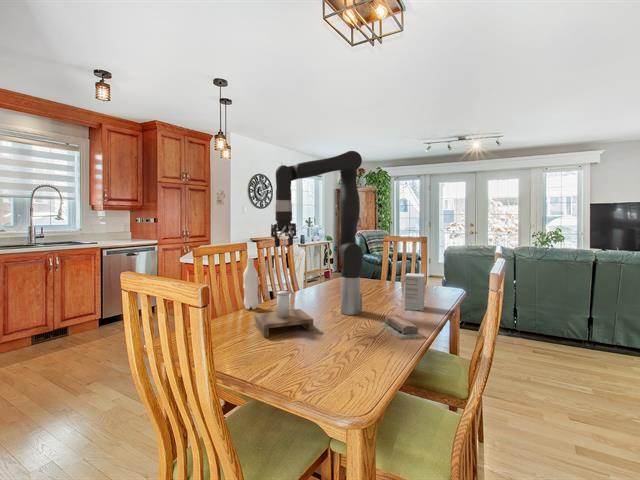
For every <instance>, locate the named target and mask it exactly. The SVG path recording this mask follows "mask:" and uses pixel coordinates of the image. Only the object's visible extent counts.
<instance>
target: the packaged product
mask: <svg viewBox="0 0 640 480" xmlns="http://www.w3.org/2000/svg"><path fill="white" fill-rule="evenodd" d="M384 317H385V318H384V322H383V321H381V322H380V323H381V324H380V325H381V326H382V327H383V328H385V329H386V330H387V331H388V332H389V333H391V334H392V335H394V337H396V338H397V339H399V340H406V339H407V338H408V339H416V337H418V338H423V337H424V334H423V333H421V332H419V331H418V330H419V327H418V326H417V325H415V324H413V323H412V322H410V321H409V320H407V319H405V318H404V317H402V316H401V315H398V314H391V315H390V314H387V315H386V316H384ZM422 336H423V337H422Z"/></svg>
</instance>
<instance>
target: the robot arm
mask: <svg viewBox="0 0 640 480" xmlns="http://www.w3.org/2000/svg"><path fill="white" fill-rule="evenodd" d="M362 162H363V159H362V155H361V154H360V153H359V152H358V151H357V150H349V151H346V152H344V153H341V154H339V155H336V156H332V157H328V158H322V159H315V160H310V161H304V162H299V163H297V164H294V165H289V166H287V165H285V164H283V165H282V164H281V165H280V166H278V167H277V168H276V170H275V185H276V187H275V188H276V189H275V211H274V212H275V221H276V223H272V224H271V227H270V237H271V238H273V239H274V246H275V247H276V248H280V246H281V240H280V238H281V236H282V235H283V234H286V235H287V242H288V243H287V245H288V246H290V247H291V246H293V245H294V237H296V236H297V223H295V222H292V221H293V203H292V181H297V180H300V179H307V178H312V177H317V176H321V175H323V174H328V173H331V172H337V171H339V173H340V181H341V183H340V194H339V195H340V197H339V198H340V199H339V216H340V218H339V219H340V221H339V222H340V237H339V248H338V254H339V256H340V258H341V260H342V269H341V271H340V313H341V314H342V315H346V316H347V315H348V316H353V315H355V316H356V315H359V314H362V313H363V292H361V272H362V271H363V250H362V247H361V246H360V245H359V244H358V243H356V233H357V232H356V230H357V226H358V222H359V220H360V219H359V218H360V213H361V212H360V211H361V208H360V207H361V203H360V202H361V201H360V194H359V189H358V186H357V174H358V169H359V168H360V167H361V166H362Z"/></svg>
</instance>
